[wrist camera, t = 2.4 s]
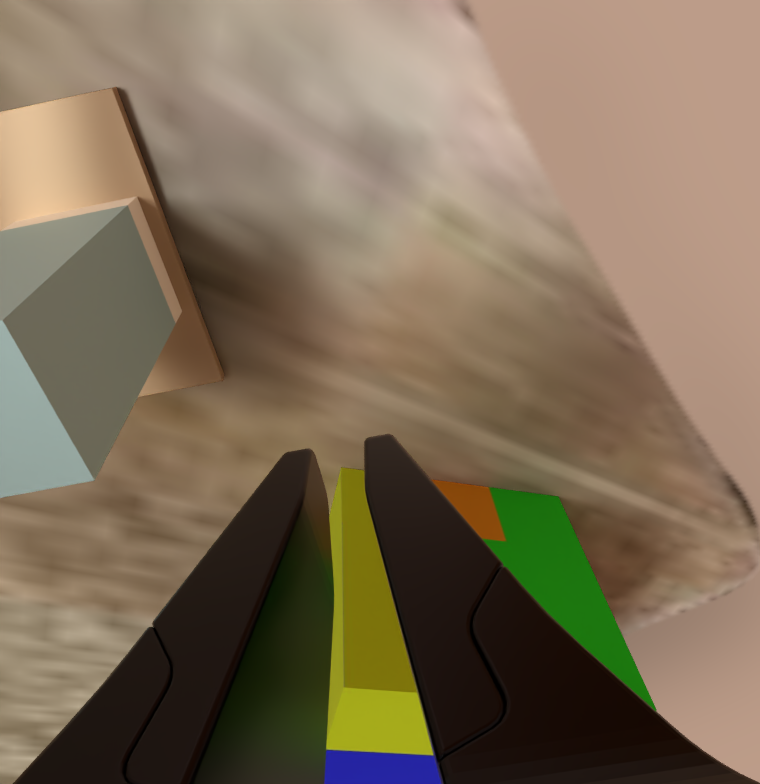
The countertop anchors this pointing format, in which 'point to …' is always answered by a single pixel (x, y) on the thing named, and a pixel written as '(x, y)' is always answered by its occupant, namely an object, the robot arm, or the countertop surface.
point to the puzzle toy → (385, 642)
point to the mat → (97, 186)
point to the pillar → (75, 338)
